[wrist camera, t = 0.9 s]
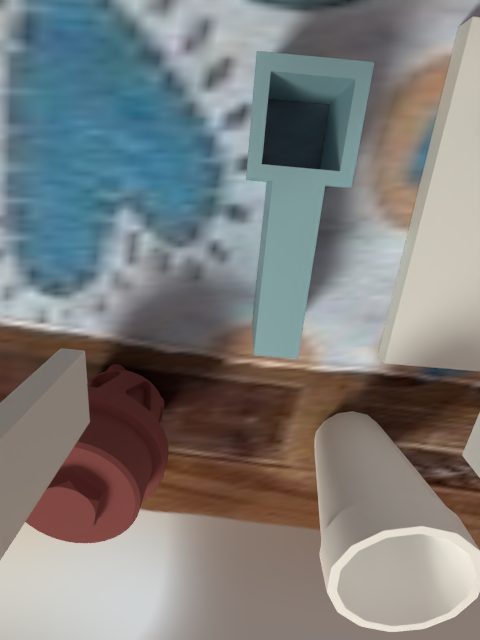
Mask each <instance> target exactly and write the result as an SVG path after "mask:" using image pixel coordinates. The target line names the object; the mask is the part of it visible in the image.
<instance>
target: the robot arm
mask: <svg viewBox="0 0 480 640" xmlns="http://www.w3.org/2000/svg"><path fill="white" fill-rule="evenodd" d="M89 423H90V415H89V401H88V387H87V373H86V359H85V351H82V350H71V349H60V350H59V351H57V352H56V353H55V354H54V355H53V356H52V357H51V358H50V359H49V360H47V361H46V362H45V363H44V364H43V365H42V366H41V367H40V368H39V369H37V370H36V371H35V372H34V373H33V374H32V375H31V376H30V377H29V378H27V379H26V380H25V381H24V382H23V383H22V384H21V385H20V386H19V387H17V388H16V389H15V390H14V391H13V392H12V393H11V394H10V395H9V396H7V397H6V398H5V399H4V400H3V401H2V402H1V403H0V560H1V558H2V557H3V555H4V553H5V552H6V550H7V549H8V547H9V546H10V544H11V543H12V541H13V540H14V538H15V537H16V535H17V534H18V532H19V530H20V529H21V527H22V526H23V524H24V523H25V521H26V520H27V518H28V517H29V515H30V513H31V512H32V510H33V509H34V507H35V506H36V504H37V503H38V501H39V500H40V498H41V497H42V495H43V493H44V492H45V490H46V489H47V487H48V486H49V484H50V483H51V481H52V480H53V478H54V477H55V475H56V473H57V472H58V470H59V469H60V467H61V466H62V464H63V463H64V461H65V460H66V458H67V457H68V455H69V453H70V452H71V450H72V449H73V447H74V446H75V444H76V443H77V441H78V440H79V438H80V437H81V435H82V433H83V432H84V430H85V429H86V427H87V426H88V424H89ZM462 456H463V457H464V458H465V460H466V461H467V462H468V463H469V465H470V466H471V467H472V468H473V470H474V471H475V472H476V473H477V475H478V476H479V477H480V413H479V415H478V418H477V420H476V423H475V425H474V428H473V430H472V432H471V435H470V437H469V440H468V442H467V445H466V447H465V449H464V452H463V454H462Z"/></svg>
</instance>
